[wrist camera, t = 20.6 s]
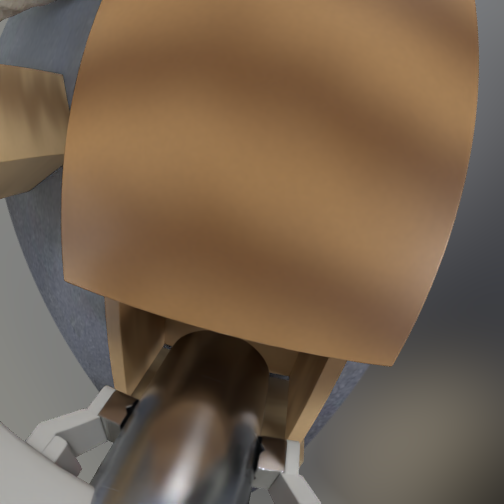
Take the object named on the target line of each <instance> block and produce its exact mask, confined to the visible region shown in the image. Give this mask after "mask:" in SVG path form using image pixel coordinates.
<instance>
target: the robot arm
mask: <svg viewBox="0 0 504 504" xmlns="http://www.w3.org/2000/svg"><path fill="white" fill-rule="evenodd" d="M138 401H139V399H137V398H134V397H132V396H130V395H127V394H125V393H123V392H121V391H118V390H116V389H114V388H112V387H110V386H107V385H106V386H105V387H103V388H102V390H101V391H100V392H99V394H98V395H97V396H96V398H95V399H94V400H93V402H92V403H91V404H90V405H89V407H88V408H87V409H80V410H77V411H74V412H71V413H68V414H65V415H62V416H59V417H56V418H53V419H50V420H46V421H43V422H40V423H39V424H38V426H37V427H36V428H35V429H34V430H33V432H32V433H31V434H30V435H29V436H28V438H27V439H26V440H25V441H23V440H22V439H20V438H19V437H18V436H17V435H15V434H14V433H13V432H12V431H11V430H10V429H9V428H7V427H6V426H5V425H4V424H3V423H2V422H1V421H0V504H91V500H92V497H93V494H94V487H93V486H92V485H90V484H88V483H87V482H85V481H83V480H81V479H79V478H78V477H77V476H78V475H79V473H80V471H81V470H82V468H81V466H80V464H79V462H78V461H77V459H76V457H77V456H79V455H81V454H83V453H85V452H87V451H89V450H91V449H93V448H95V447H97V446H99V445H101V444H103V443H105V442H107V440H109V441H111V442H113V443H114V441H115V440H116V438H117V436H118V435H119V433H120V431H121V430H122V428H123V426H124V425H125V423H126V421H127V420H128V418H129V416H130V415H131V413H132V411H133V410H134V408H135V406H136V405H137V403H138ZM299 457H300V443H299V441H293V440H286V439H282V438H275V437H269V436H263V435H262V436H261V437H260V443H259V449H258V456H257V461H256V466H255V472H254V479H253V484H252V487H256V488H262V489H268V491H269V494H270V496H271V498H272V500H273V502H274V504H322V503H321V502H320V500H319V499H318V498H317V496H316V495H315V493H314V492H313V490H312V489H311V488H310V486H309V485H308V483H307V482H306V480H305V479H304V477H303V476H302V475H299Z"/></svg>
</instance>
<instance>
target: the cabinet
mask: <svg viewBox="0 0 504 504" xmlns="http://www.w3.org/2000/svg"><path fill="white" fill-rule="evenodd" d="M478 78H479V46H478V26H477V15H476V7H475V0H102V1H101V4H100V6H99V9H98V11H97V14H96V16H95V19H94V22H93V25H92V28H91V31H90V34H89V37H88V40H87V43H86V46H85V50H84V53H83V57H82V60H81V64H80V68H79V72H78V76H77V80H76V85H75V89H74V94H73V99H72V104H71V109H70V115H69V121H68V128H67V135H66V143H65V152H64V162H63V175H62V195H61V241H62V260H63V273H64V281H66V282H68V283H71V284H73V285H76V286H78V287H81V288H83V289H86V290H88V291H91V292H93V293H96V294H99V295H101V296H104V297H107V298H109V299H112V300H115V301H118V302H121V303H123V304H126V305H129V306H132V307H135V308H138V309H141V310H144V311H147V312H150V313H153V314H156V315H159V316H162V317H166V318H169V319H172V320H175V321H179V322H182V323H185V324H189V325H192V326H196V327H199V328H203V329H206V330H210V331H214V332H217V333H221V334H225V335H229V336H232V337H236V338H240V339H244V340H248V341H253V342H257V343H261V344H265V345H270V346H274V347H279V348H283V349H288V350H293V351H298V352H303V353H308V354H313V355H318V356H324V357H330V358H335V359H341V360H347V361H354V362H360V363H367V364H374V365H382V366H389V367H391V366H392V365H393V364H394V362H395V360H396V359H397V357H398V355H399V353H400V351H401V349H402V348H403V345H404V344H405V342H406V340H407V338H408V336H409V334H410V332H411V330H412V328H413V326H414V324H415V322H416V320H417V318H418V316H419V313H420V311H421V309H422V307H423V305H424V303H425V300H426V298H427V296H428V293H429V291H430V289H431V286H432V284H433V281H434V279H435V276H436V274H437V271H438V268H439V266H440V263H441V260H442V258H443V255H444V252H445V249H446V246H447V243H448V240H449V237H450V234H451V231H452V228H453V224H454V221H455V218H456V214H457V210H458V207H459V203H460V199H461V196H462V191H463V187H464V183H465V179H466V174H467V169H468V163H469V159H470V153H471V147H472V141H473V134H474V127H475V119H476V108H477V96H478Z"/></svg>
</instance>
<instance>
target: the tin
mask: <svg viewBox="0 0 504 504" xmlns="http://www.w3.org/2000/svg"><path fill="white" fill-rule="evenodd" d="M269 378H270V375H269V369H268V366H267V364H266V361H265V360H264V358H263V357H262V355H261V354H260V353H259V352H258V351H257V350H256V349H255V348H254V347H253V346H252V345H250V344H249V343H247V342H246V341H244V340H242V339H240V338H236V337H232V336H229V335H225V334H221V333H217V332H214V331H210V330H202V331H195V332H191V333H189V334H186V335H184V336H182V337H181V338H180V339H178V340H177V341H176V342H175V343H174V345H173V346H172V348H171V350H170V351H169V353H168V354H167V356H166V358H165V359H164V361H163V362H162V364H161V366H160V367H159V369H158V370H157V372H156V374H155V375H154V377H153V379H152V380H151V382H150V383H149V385H148V387H147V388H146V390H145V392H144V393H143V395H142V397H141V398H140V400H139V401H138V403H137V405H136V406H135V408H134V410H133V411H132V413H131V415H130V416H129V418H128V420H127V421H126V423H125V425H124V426H123V428H122V430H121V431H120V433H119V435H118V436H117V438H116V440H115V441H114V443H113V445H112V446H111V448H110V450H109V452H108V453H107V455H106V456H105V458H104V460H103V462H102V463H101V465H100V467H99V468H98V470H97V472H96V474H95V475H94V477H93V479H92V480H91V482H90V485H92V486H93V487H94V494H93V497H92V500H91V504H249V500H250V495H251V490H252V484H253V479H254V472H255V466H256V461H257V456H258V449H259V443H260V437H261V432H262V426H263V420H264V413H265V407H266V400H267V393H268V386H269Z"/></svg>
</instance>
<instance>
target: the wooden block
mask: <svg viewBox="0 0 504 504" xmlns="http://www.w3.org/2000/svg"><path fill="white" fill-rule="evenodd" d="M69 115H70V110H69V105H68V100H67V95H66V90H65V85H64V79H63V75H62V74H57V73H52V72H47V71H42V70H36V69H30V68H24V67H18V66H11V65H3V64H0V199H2V198H5V197H9V196H13V195H16V194H20V193H24V192H28V191H30V190H31V189H33V188H34V187H35V186H36V185H37V184H39V183H40V182H41V181H42V180H44V179H45V178H46V177H48V176H49V175H50V174H51V173H53V172H54V171H55V170H57V169H58V168H59V167H61V166H62V165H63V162H64V152H65V143H66V135H67V128H68V121H69Z"/></svg>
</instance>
